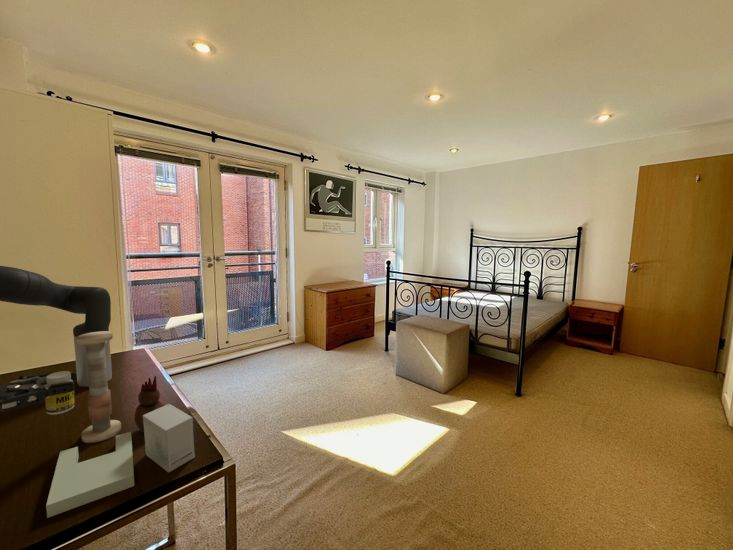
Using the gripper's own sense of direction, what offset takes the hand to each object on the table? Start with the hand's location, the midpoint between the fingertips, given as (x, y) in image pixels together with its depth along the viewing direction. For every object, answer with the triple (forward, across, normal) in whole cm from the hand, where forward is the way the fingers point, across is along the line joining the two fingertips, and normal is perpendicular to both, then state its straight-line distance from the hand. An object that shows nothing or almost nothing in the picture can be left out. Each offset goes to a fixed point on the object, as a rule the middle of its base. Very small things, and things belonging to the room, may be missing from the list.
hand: (74, 381), depth 74 cm
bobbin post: (+4, +7, +18) cm, 19 cm away
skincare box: (+17, -13, +18) cm, 28 cm away
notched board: (+3, -10, +18) cm, 21 cm away
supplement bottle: (-3, 0, +6) cm, 7 cm away
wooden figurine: (+14, +2, +18) cm, 23 cm away
